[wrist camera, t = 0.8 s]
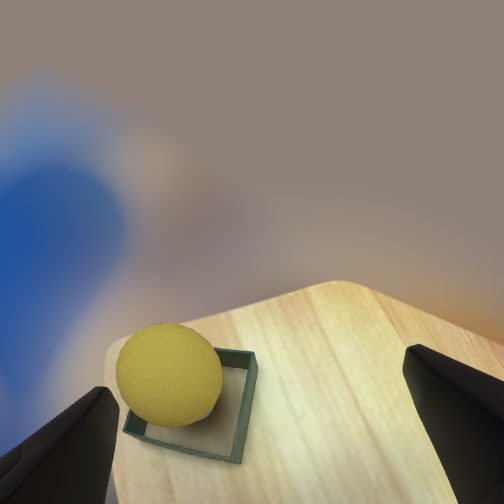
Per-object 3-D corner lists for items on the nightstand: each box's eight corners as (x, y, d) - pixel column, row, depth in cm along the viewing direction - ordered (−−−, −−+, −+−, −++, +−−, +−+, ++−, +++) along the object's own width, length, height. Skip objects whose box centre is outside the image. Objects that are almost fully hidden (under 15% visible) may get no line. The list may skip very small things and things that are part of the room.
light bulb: (159, 444, 19) (87, 407, 12) (161, 372, 24) (106, 306, 17) (243, 442, 19) (210, 408, 12) (236, 366, 24) (208, 294, 17)
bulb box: (240, 464, 17) (233, 460, 15) (139, 439, 19) (122, 431, 17) (258, 367, 23) (254, 351, 21) (166, 355, 25) (153, 338, 23)
